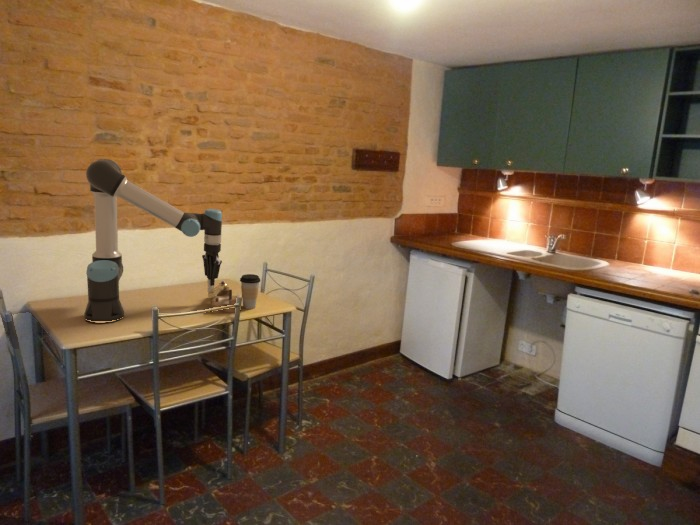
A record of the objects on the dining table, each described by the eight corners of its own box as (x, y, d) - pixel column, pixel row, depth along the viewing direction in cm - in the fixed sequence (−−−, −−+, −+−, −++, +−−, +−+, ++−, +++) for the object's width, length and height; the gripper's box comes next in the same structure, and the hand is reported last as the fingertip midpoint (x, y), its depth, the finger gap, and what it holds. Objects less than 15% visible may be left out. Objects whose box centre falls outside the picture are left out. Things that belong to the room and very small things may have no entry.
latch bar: (220, 286, 251) (220, 280, 250) (228, 287, 251) (228, 281, 250) (206, 296, 234) (206, 290, 233) (214, 297, 233) (214, 291, 232)
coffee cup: (243, 311, 234) (244, 279, 231) (236, 305, 242) (236, 274, 238) (262, 308, 239) (263, 278, 236) (254, 302, 247) (255, 273, 244)
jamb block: (216, 300, 246) (216, 290, 245) (216, 296, 252) (216, 286, 251) (229, 300, 248) (229, 290, 247) (228, 296, 254) (229, 286, 253)
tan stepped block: (211, 313, 229) (211, 296, 227) (211, 303, 242) (211, 287, 240) (239, 312, 232) (239, 295, 230) (237, 302, 245) (237, 286, 243)
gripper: (197, 240, 235) (196, 289, 241) (213, 246, 227) (211, 296, 233) (211, 239, 241) (210, 286, 247) (227, 245, 233) (225, 294, 239)
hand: (210, 291), depth 240 cm, fingers closed
